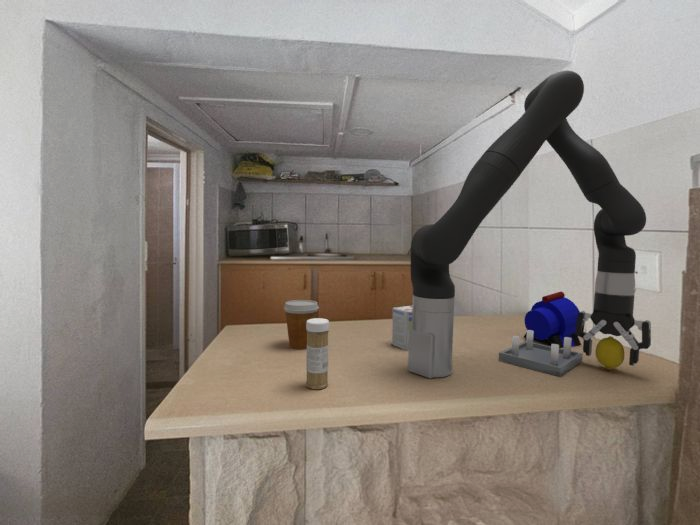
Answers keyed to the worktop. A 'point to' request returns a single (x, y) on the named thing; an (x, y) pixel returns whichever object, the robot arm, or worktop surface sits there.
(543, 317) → the alarm clock
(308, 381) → the sprinkles bottle
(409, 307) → the light bulb box
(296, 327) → the disposable coffee cup
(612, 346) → the lemon
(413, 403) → the worktop surface
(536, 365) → the tray
